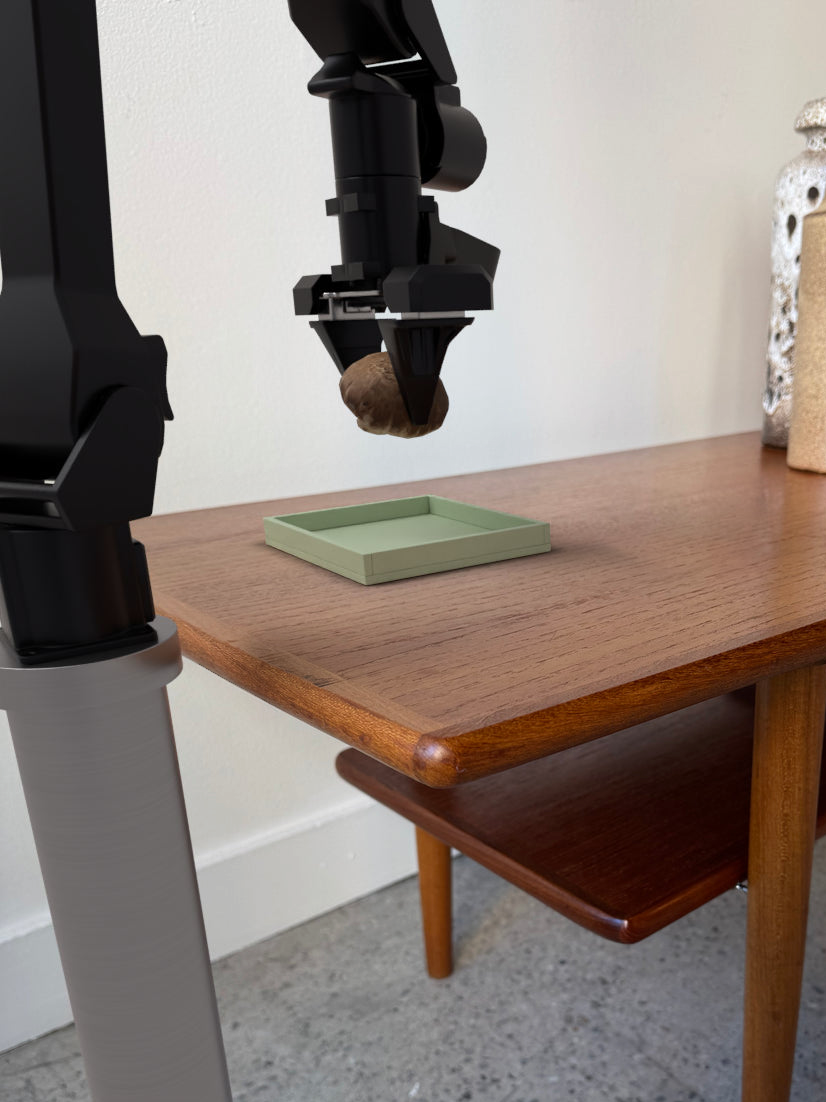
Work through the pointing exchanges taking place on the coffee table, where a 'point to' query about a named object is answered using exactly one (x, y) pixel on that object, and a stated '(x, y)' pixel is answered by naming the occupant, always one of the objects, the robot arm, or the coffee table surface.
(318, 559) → the tray
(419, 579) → the coffee table surface
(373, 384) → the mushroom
